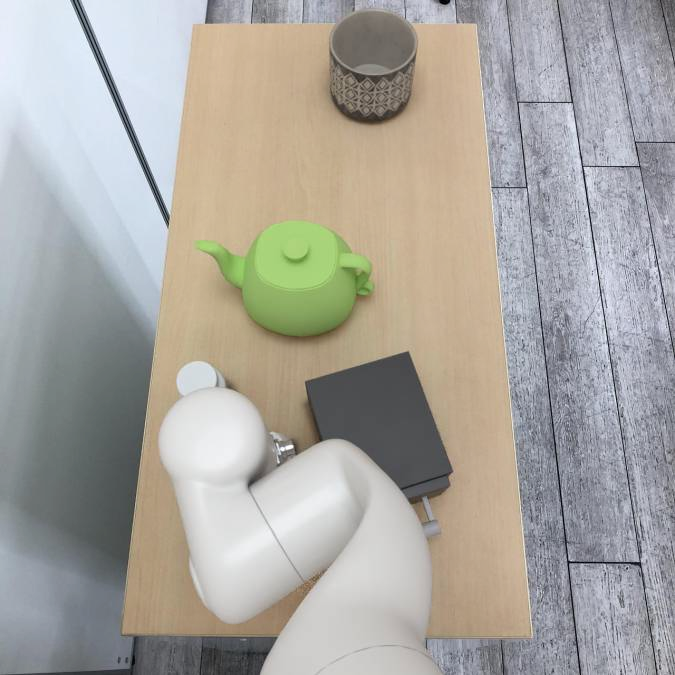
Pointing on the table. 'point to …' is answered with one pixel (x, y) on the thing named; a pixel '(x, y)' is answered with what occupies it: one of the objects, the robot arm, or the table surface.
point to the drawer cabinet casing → (382, 418)
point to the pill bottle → (198, 378)
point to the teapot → (296, 277)
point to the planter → (372, 63)
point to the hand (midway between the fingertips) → (260, 493)
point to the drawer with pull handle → (423, 494)
